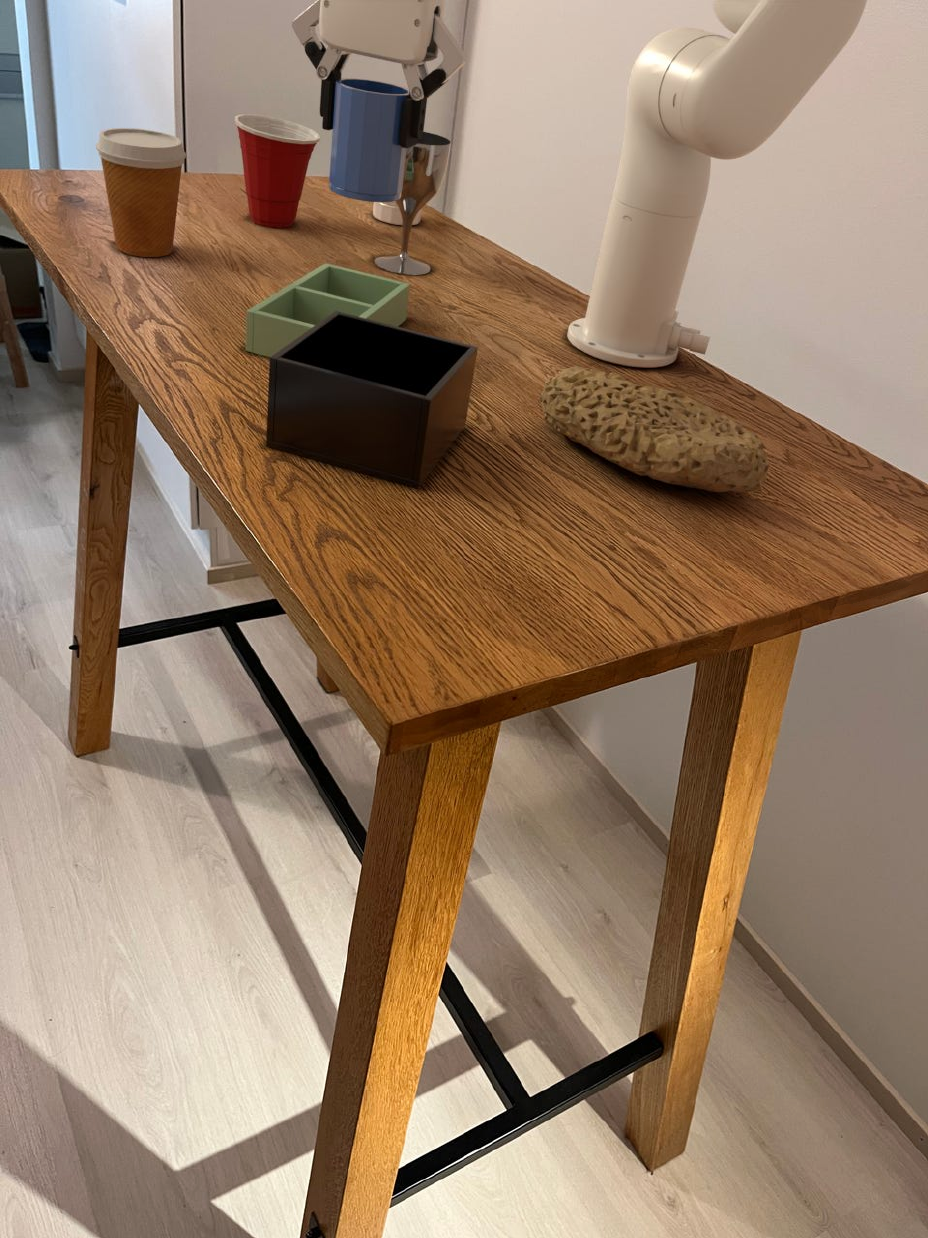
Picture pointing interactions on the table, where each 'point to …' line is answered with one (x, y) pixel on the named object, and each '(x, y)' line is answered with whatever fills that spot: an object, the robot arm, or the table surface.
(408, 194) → the wine glass
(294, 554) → the table surface
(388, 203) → the white cup
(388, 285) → the green divided tray
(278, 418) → the open box
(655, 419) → the sponge
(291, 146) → the plastic cup
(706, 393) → the table surface
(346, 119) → the blue cup
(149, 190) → the disposable coffee cup
